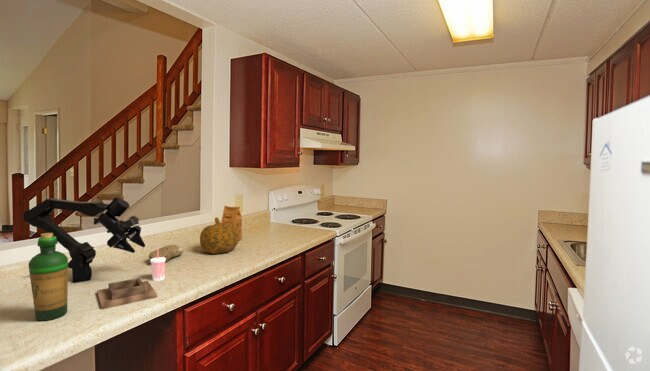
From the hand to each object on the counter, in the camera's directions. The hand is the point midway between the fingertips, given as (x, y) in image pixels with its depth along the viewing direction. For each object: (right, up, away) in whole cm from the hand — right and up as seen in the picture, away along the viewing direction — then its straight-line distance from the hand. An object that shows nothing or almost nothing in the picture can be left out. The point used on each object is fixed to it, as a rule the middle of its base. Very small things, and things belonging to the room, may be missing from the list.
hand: (139, 249), depth 154 cm
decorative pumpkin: (+21, -10, +47) cm, 52 cm away
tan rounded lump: (-2, -11, +30) cm, 32 cm away
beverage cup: (+8, -13, +1) cm, 16 cm away
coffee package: (+20, -8, +74) cm, 77 cm away
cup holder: (+4, -15, -17) cm, 23 cm away
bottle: (-12, -16, -34) cm, 40 cm away
